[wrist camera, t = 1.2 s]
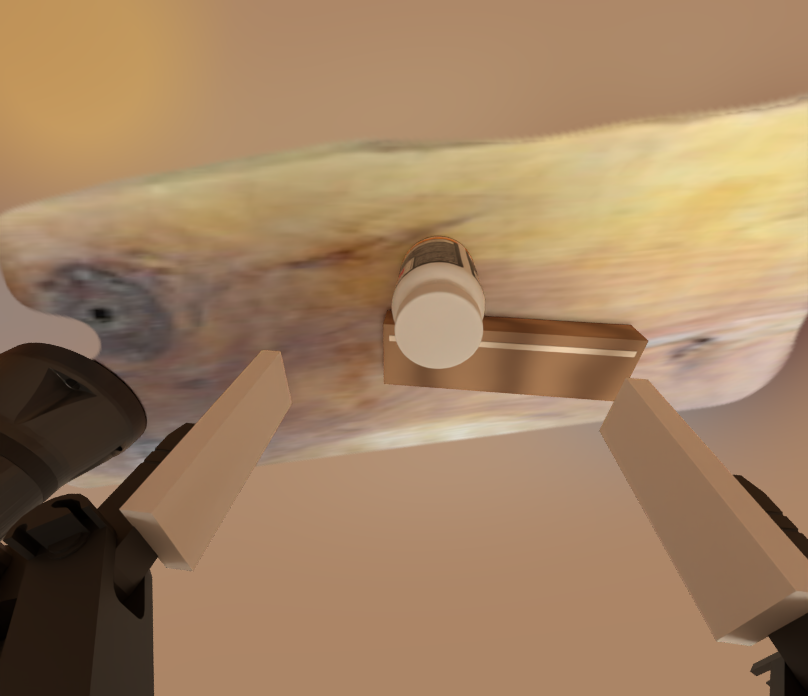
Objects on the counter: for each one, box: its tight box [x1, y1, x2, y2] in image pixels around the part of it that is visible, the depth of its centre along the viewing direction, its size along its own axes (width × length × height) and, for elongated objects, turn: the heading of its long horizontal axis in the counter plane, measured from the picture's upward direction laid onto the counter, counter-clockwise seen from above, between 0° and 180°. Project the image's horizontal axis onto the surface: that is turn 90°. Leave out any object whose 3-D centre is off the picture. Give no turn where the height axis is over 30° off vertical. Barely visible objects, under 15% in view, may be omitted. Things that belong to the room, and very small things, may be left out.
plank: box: [383, 311, 648, 401], centre depth 27 cm, size 20×6×3 cm, turn 89°
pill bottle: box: [392, 236, 485, 369], centre depth 21 cm, size 6×6×10 cm
